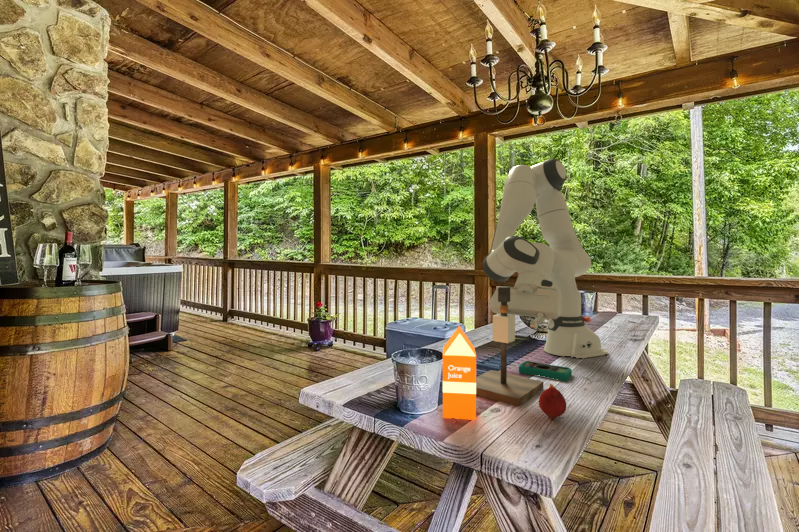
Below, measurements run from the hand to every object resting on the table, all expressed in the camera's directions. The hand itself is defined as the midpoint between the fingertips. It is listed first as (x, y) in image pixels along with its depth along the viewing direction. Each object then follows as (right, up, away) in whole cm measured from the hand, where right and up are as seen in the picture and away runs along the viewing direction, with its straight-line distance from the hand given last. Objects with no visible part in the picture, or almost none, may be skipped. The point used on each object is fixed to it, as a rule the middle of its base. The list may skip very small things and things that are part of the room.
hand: (516, 325), depth 106 cm
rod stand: (-4, -17, -2) cm, 18 cm away
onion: (+2, -18, -20) cm, 27 cm away
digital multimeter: (+12, -17, +11) cm, 24 cm away
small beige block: (-4, -4, -3) cm, 6 cm away
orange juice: (-19, -18, -16) cm, 30 cm away
